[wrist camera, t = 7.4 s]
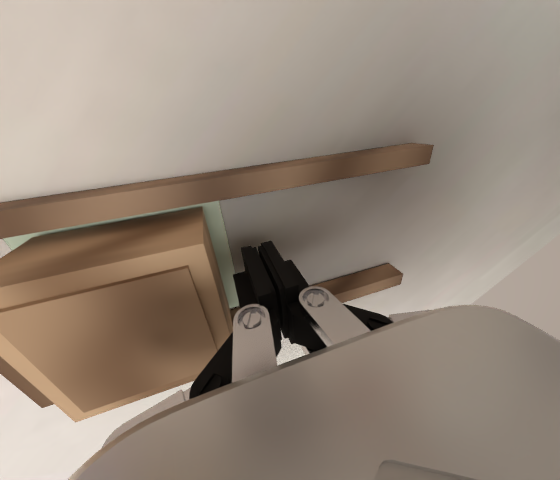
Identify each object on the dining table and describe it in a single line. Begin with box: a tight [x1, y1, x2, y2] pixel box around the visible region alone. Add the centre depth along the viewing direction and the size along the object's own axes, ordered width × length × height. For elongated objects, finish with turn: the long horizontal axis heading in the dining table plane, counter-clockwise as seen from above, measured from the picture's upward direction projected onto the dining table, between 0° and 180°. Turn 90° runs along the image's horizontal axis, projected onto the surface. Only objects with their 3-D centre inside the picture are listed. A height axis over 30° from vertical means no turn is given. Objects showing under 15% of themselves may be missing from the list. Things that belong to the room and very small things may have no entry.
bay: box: [0, 143, 434, 408], centre depth 12 cm, size 23×10×2 cm, turn 95°
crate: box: [0, 207, 233, 422], centre depth 10 cm, size 7×7×4 cm
